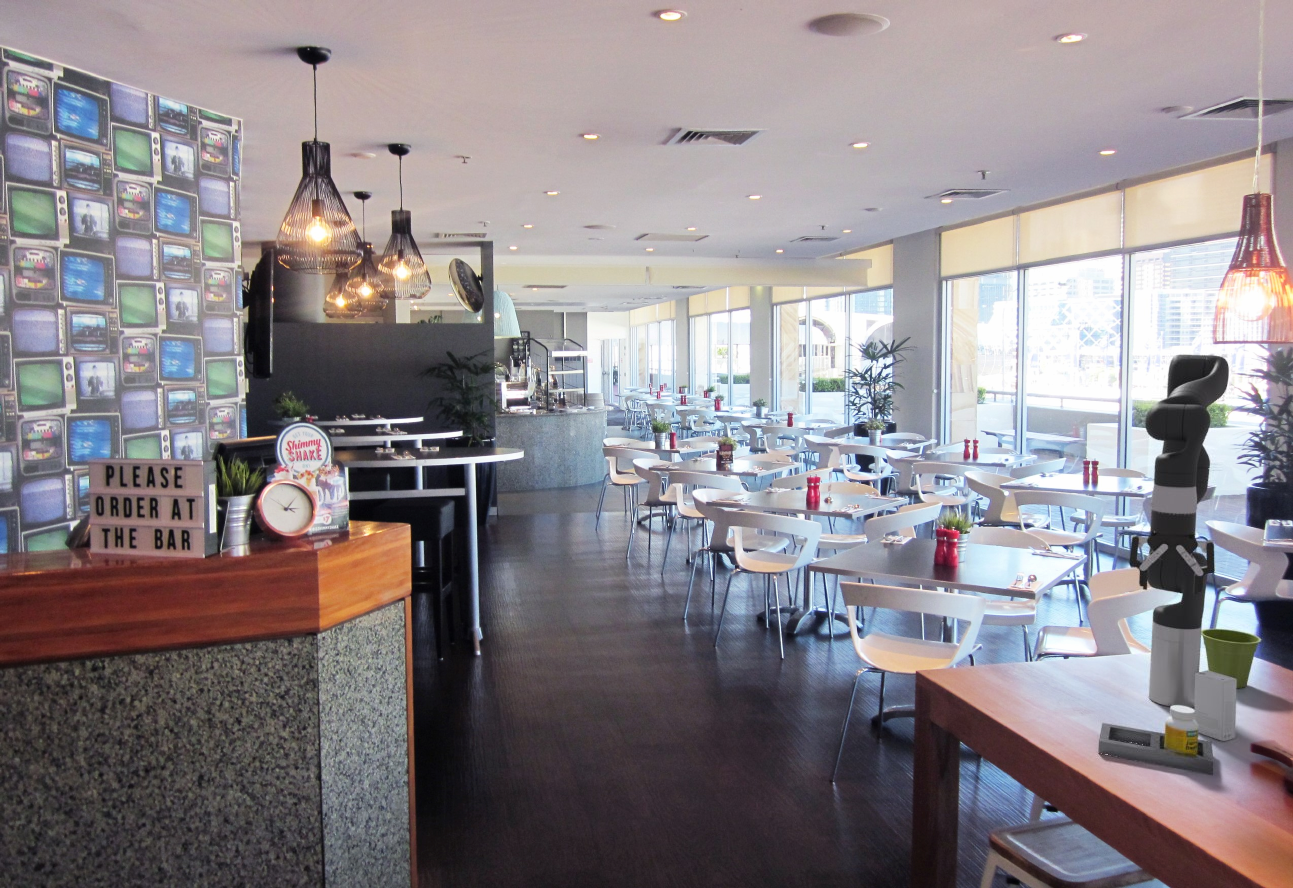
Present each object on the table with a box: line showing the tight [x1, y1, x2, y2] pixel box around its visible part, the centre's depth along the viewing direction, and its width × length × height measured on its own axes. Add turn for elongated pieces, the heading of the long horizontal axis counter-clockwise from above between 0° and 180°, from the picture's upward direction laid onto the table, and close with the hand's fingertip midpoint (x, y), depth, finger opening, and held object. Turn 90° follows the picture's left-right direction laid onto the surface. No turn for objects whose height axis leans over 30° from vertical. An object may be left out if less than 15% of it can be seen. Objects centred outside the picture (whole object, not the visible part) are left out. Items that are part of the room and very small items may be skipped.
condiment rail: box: [1097, 722, 1214, 776], centre depth 175 cm, size 10×18×2 cm, turn 61°
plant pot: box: [1201, 628, 1262, 689], centre depth 213 cm, size 12×12×11 cm
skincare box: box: [1193, 669, 1237, 742], centre depth 184 cm, size 6×4×12 cm
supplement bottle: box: [1163, 705, 1199, 756], centre depth 173 cm, size 5×5×10 cm
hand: (1169, 591), depth 180 cm, fingers open, 8 cm apart
